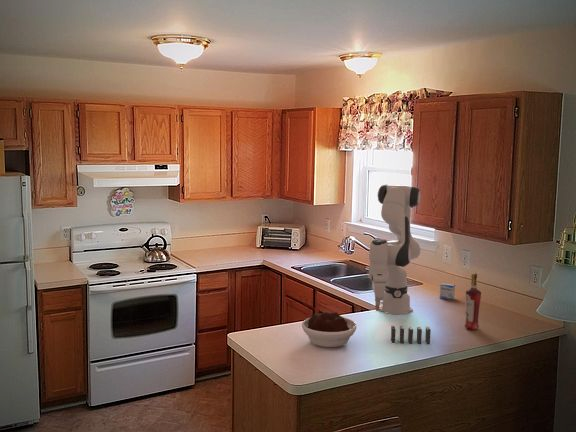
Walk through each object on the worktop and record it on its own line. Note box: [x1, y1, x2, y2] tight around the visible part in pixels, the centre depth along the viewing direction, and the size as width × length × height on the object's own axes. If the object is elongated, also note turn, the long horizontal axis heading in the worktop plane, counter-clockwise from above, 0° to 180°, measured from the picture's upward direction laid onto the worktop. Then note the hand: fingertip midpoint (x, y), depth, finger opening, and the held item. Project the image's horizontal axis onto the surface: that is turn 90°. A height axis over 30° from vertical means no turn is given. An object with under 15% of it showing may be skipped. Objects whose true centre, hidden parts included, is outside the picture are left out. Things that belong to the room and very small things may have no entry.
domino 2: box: [390, 325, 396, 344], centre depth 275 cm, size 4×1×7 cm, turn 178°
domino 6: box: [424, 326, 432, 345], centre depth 274 cm, size 4×1×7 cm, turn 178°
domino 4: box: [407, 325, 414, 345], centre depth 275 cm, size 4×1×7 cm, turn 178°
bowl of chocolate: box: [301, 311, 357, 348], centre depth 272 cm, size 25×25×15 cm
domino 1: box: [374, 302, 380, 312], centre depth 276 cm, size 4×1×7 cm, turn 177°
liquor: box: [464, 272, 482, 331], centre depth 294 cm, size 7×7×28 cm
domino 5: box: [416, 326, 423, 345], centre depth 274 cm, size 4×1×7 cm, turn 178°
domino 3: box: [399, 325, 405, 345], centre depth 275 cm, size 4×1×7 cm, turn 178°
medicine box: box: [439, 282, 456, 301], centre depth 349 cm, size 8×4×9 cm, turn 62°
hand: (377, 303), depth 276 cm, fingers closed on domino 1, 4 cm apart
